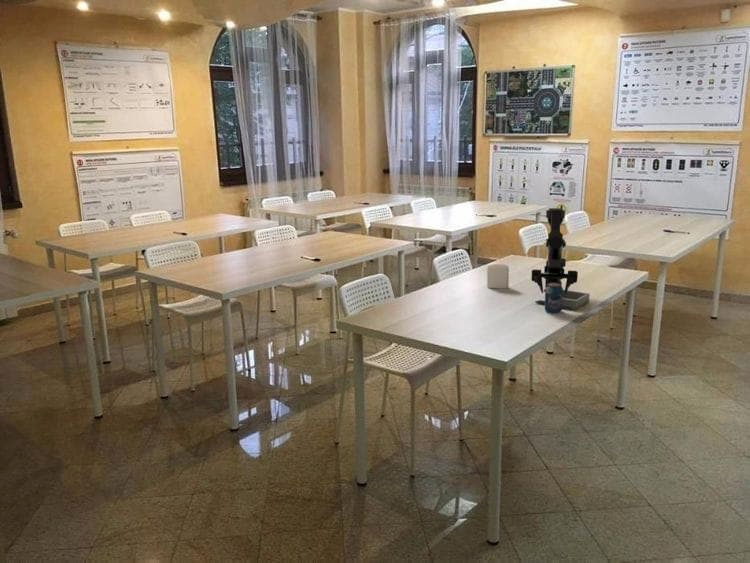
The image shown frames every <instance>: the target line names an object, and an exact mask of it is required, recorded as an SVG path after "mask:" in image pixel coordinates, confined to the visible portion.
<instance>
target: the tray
mask: <svg viewBox="0 0 750 563" xmlns="http://www.w3.org/2000/svg"><path fill="white" fill-rule="evenodd" d="M589 303H590V293H587V292H581V291H575V290H569V289H568V290H567V293H566V294H565V289H563V293H562V309H565V308H567V310H570V311H571V310H572V311H578V310H579V309H581V308H583V307H584V306H586V305H587V304H589Z"/></svg>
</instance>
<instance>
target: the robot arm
mask: <svg viewBox="0 0 750 563" xmlns="http://www.w3.org/2000/svg"><path fill="white" fill-rule="evenodd" d="M565 218H566V210H565V209H563V208H562V207H561V208H560V207H558V208H557V207H556V208H555V207H554V208H553V207H551V208H550V207H549V208H548V209H546V215H545V219H547V224H548V225H549V227H550V232H549V233H548V234H547V238H546V240H545V241H546V242H545V247H546V248H547V251H548V252H547V260H546V262H545V265H544V267H543V268H544V271H543V272H542V269H535V268H534V269H532V270H531V281H532V282H534V284H537V285H538V287H539V289H540V292H541V294H543V293H544V292H545V288H546V286H547V283H553V282H554V283H560V284H561V286H562V284H563V282H562V280H563V279H566V282H565V287H564V290H565V294H566V293H567V290H569V288H570V287H571V285H574V284H576V283H578V277H579V276H578V275H579V274H578V273H579V272H578V271H577V270H567V273H565V270H566V269H564V268H565V267H566V264H567V262H566V260H567V259H566V258H563V257H562V255H563V248H565V247H566V246H567V242H566V240H565V238H563V237H564V236H563V233H562V232H561V225H562V224H563V223H564V219H565ZM543 279H545V281H544V282H545V283H544V284H545V285H544V284H543ZM543 285H544V286H545V288H544V286H543Z"/></svg>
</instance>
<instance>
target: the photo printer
mask: <svg viewBox="0 0 750 563" xmlns="http://www.w3.org/2000/svg"><path fill="white" fill-rule="evenodd" d="M486 269H487V270H486V273H487V274H486V287H487V288H488V289H507V290H508V289H509V287H510V285H509V282H510V281H509V278H510V277H509V274H510V270H509V265H508V264H507V263H504V262H492V263H491V262H490V263H488V264H487V268H486Z"/></svg>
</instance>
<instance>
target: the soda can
mask: <svg viewBox="0 0 750 563" xmlns="http://www.w3.org/2000/svg"><path fill="white" fill-rule="evenodd" d="M544 289H545V291H544V293H545V294H544V310H545V312H546V313H547V314H554V315H555V314H556V313H557V314H560V313H561V311H562V310H563V308H562V293H563V290H564V289H563V287H562V286H561V284H560V283H554V282H553V283H547V286H546V288H544Z"/></svg>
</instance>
